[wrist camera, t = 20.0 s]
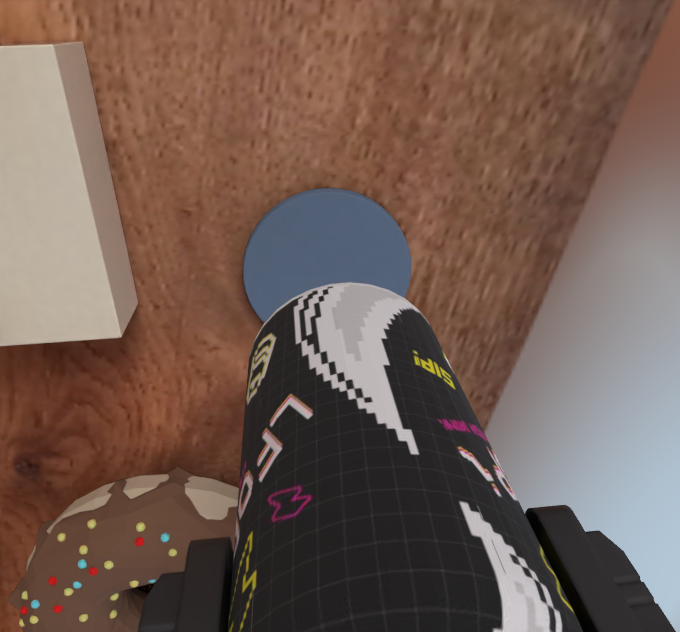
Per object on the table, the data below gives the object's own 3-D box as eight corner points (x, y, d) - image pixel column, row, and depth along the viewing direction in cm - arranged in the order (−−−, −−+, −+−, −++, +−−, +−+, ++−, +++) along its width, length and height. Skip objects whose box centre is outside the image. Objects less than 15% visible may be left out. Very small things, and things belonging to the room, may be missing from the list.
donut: (82, 415, 26) (42, 494, 22) (345, 497, 30) (356, 578, 26) (8, 608, 32) (-36, 704, 27) (240, 657, 36) (234, 748, 31)
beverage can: (293, 241, 16) (327, 676, 5) (465, 311, 18) (752, 753, 7) (222, 399, 18) (148, 929, 8) (381, 448, 20) (503, 944, 9)
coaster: (234, 192, 22) (233, 196, 22) (410, 183, 23) (414, 186, 22) (252, 346, 26) (251, 353, 25) (406, 335, 26) (409, 342, 26)
